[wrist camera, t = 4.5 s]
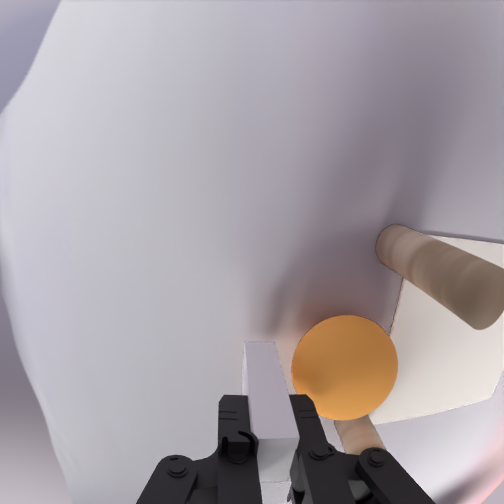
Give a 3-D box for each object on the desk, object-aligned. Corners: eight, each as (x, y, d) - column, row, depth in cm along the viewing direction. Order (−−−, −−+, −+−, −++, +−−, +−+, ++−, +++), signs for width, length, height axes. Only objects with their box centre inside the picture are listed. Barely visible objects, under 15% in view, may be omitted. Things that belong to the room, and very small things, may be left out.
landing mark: (489, 397, 21) (490, 398, 21) (360, 425, 20) (361, 426, 20) (540, 249, 18) (541, 249, 18) (411, 233, 17) (413, 233, 16)
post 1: (361, 428, 20) (400, 510, 12) (331, 431, 20) (363, 519, 12) (370, 404, 20) (416, 489, 12) (338, 407, 19) (377, 499, 12)
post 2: (408, 267, 17) (499, 327, 9) (372, 265, 17) (458, 332, 9) (415, 226, 17) (516, 267, 9) (379, 222, 16) (477, 265, 9)
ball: (268, 417, 15) (316, 369, 20) (364, 455, 12) (396, 393, 17) (272, 328, 14) (324, 290, 18) (392, 364, 11) (417, 311, 15)
